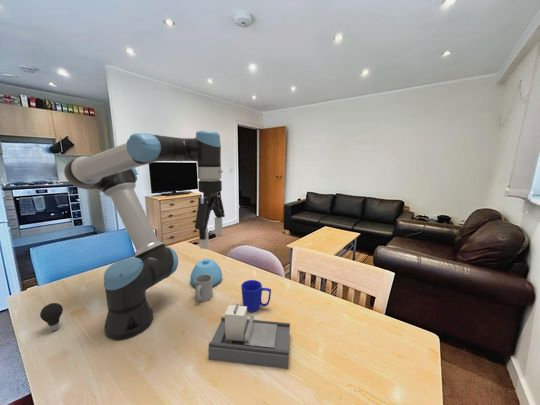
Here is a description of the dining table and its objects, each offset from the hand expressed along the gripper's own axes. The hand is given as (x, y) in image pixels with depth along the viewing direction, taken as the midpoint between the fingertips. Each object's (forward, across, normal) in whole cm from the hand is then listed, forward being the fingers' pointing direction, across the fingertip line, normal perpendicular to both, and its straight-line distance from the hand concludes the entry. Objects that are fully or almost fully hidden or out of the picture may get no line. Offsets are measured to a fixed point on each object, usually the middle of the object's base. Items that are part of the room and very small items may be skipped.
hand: (212, 240), depth 78 cm
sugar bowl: (+32, +26, +14) cm, 44 cm away
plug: (+29, -10, -11) cm, 33 cm away
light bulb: (+32, -12, +54) cm, 64 cm away
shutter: (+27, -10, -19) cm, 35 cm away
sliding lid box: (+31, -10, -16) cm, 37 cm away
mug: (+32, +9, -14) cm, 36 cm away
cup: (+32, +12, +10) cm, 36 cm away
